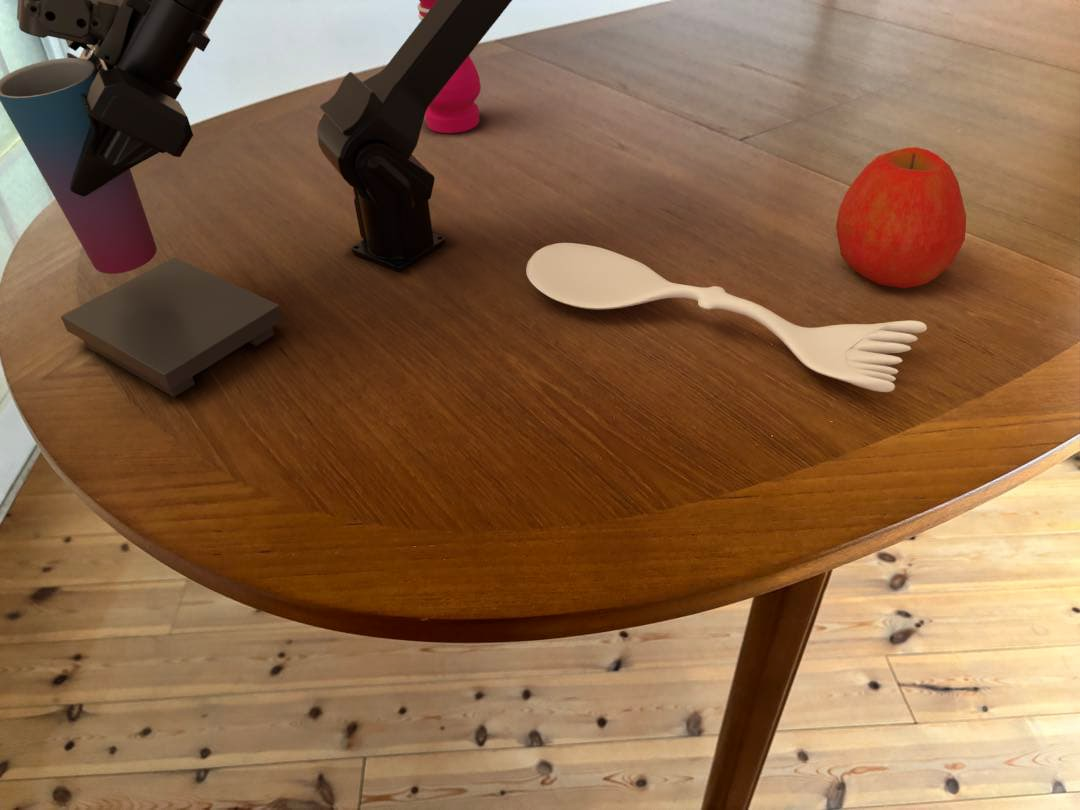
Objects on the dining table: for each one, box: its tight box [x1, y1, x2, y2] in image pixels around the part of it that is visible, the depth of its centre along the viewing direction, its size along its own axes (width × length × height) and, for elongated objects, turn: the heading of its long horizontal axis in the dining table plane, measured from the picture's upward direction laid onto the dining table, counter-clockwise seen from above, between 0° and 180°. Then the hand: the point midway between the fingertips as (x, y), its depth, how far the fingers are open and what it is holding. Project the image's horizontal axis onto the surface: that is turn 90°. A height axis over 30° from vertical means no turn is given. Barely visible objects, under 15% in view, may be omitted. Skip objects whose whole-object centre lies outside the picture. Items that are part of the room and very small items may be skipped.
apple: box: [835, 146, 967, 289], centre depth 76 cm, size 10×10×10 cm
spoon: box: [525, 242, 928, 393], centre depth 73 cm, size 9×32×4 cm, turn 57°
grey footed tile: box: [60, 257, 284, 398], centre depth 75 cm, size 14×11×3 cm
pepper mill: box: [417, 0, 482, 134], centre depth 102 cm, size 7×7×20 cm
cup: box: [0, 57, 158, 275], centre depth 70 cm, size 7×7×15 cm
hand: (72, 177), depth 69 cm, fingers closed on cup, 6 cm apart
